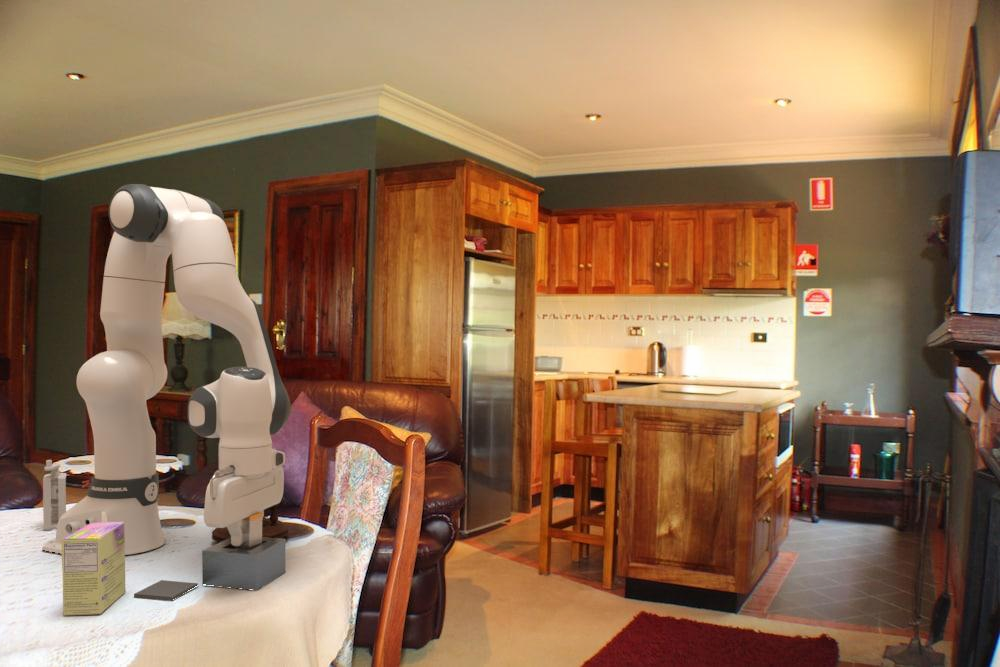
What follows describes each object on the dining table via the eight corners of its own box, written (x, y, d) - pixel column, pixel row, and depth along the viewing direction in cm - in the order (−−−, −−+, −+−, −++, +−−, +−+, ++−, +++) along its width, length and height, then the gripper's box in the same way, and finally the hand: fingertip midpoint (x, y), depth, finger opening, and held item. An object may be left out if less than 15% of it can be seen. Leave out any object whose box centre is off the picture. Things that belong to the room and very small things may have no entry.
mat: (134, 597, 131) (134, 593, 131) (161, 583, 137) (161, 580, 137) (172, 600, 129) (172, 597, 129) (198, 586, 136) (198, 583, 136)
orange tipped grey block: (248, 574, 138) (249, 516, 138) (234, 572, 139) (235, 514, 139) (261, 569, 141) (262, 512, 140) (247, 567, 142) (247, 510, 142)
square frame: (202, 586, 136) (202, 550, 136) (234, 568, 146) (234, 535, 146) (256, 590, 134) (256, 554, 134) (285, 572, 144) (285, 538, 144)
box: (90, 593, 133) (89, 521, 132) (126, 592, 133) (125, 521, 133) (61, 616, 122) (60, 539, 122) (100, 615, 123) (99, 538, 122)
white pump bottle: (68, 519, 181) (67, 453, 181) (65, 529, 172) (65, 459, 172) (46, 521, 179) (46, 454, 179) (43, 532, 171) (42, 461, 170)
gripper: (228, 473, 129) (229, 559, 129) (290, 452, 149) (290, 527, 149) (193, 471, 130) (194, 556, 131) (258, 451, 150) (259, 525, 151)
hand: (245, 540), depth 140 cm, fingers closed on orange tipped grey block, 3 cm apart
